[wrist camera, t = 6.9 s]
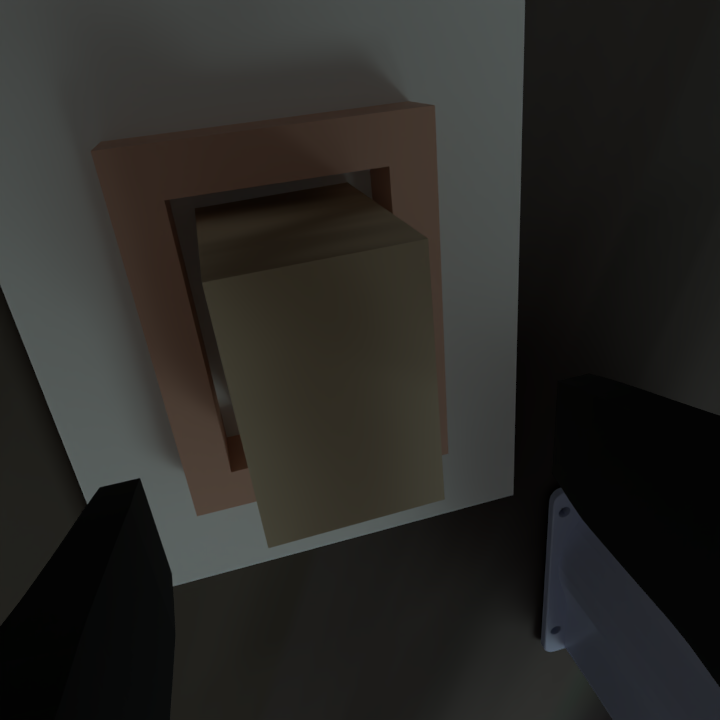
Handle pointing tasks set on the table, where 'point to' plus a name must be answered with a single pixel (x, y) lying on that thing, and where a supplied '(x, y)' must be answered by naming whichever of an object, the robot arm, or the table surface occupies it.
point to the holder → (241, 182)
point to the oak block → (325, 355)
